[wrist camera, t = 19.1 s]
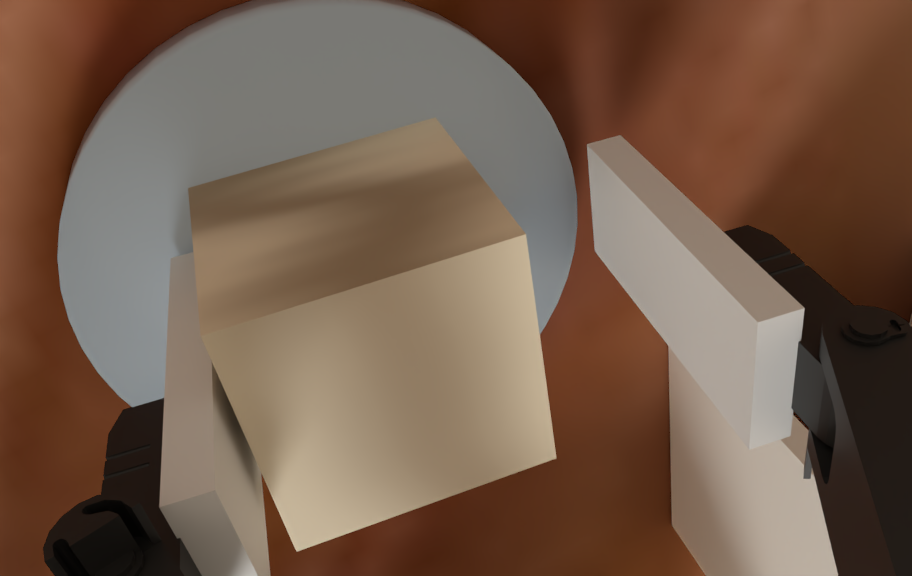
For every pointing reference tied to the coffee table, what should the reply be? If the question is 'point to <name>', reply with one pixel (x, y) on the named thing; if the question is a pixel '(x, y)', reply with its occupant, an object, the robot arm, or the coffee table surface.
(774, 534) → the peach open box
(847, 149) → the coffee table surface
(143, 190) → the dish
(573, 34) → the coffee table surface
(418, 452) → the block
